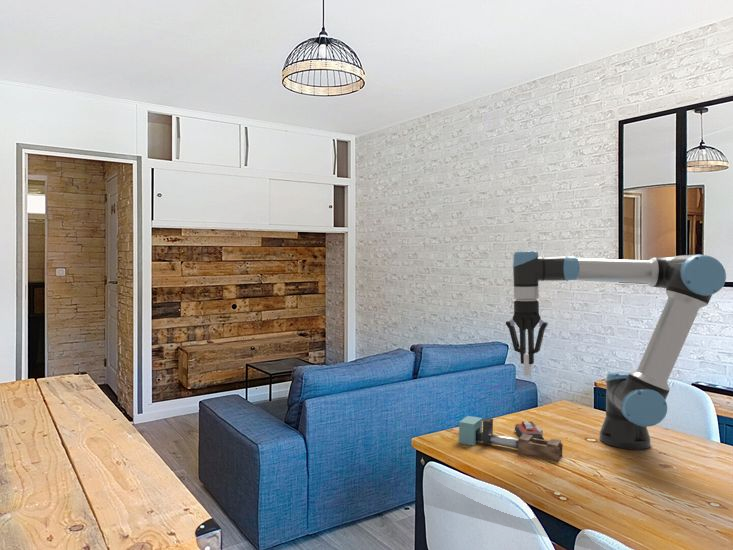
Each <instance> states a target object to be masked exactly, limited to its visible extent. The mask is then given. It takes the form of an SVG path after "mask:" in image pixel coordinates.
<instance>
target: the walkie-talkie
mask: <svg viewBox="0 0 733 550" xmlns="http://www.w3.org/2000/svg"><path fill="white" fill-rule="evenodd" d="M515 431H516V432H515ZM514 432H515V433H516V435H517V434H518V435H519V436H518V435H517V436H518V437H519V438H520V437H521V436H522V435H523V434H528V435H533V438H536V439H542V440H545V438H544V437H543V434H544V433H543V432H544V430H543V429H542V428H541V426H538V425H536V424H535V423H534V422H533V421H532V420H531V421H530V420H529V421H527V420H525V421H521V423H516V424H515V425H514Z"/></svg>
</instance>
